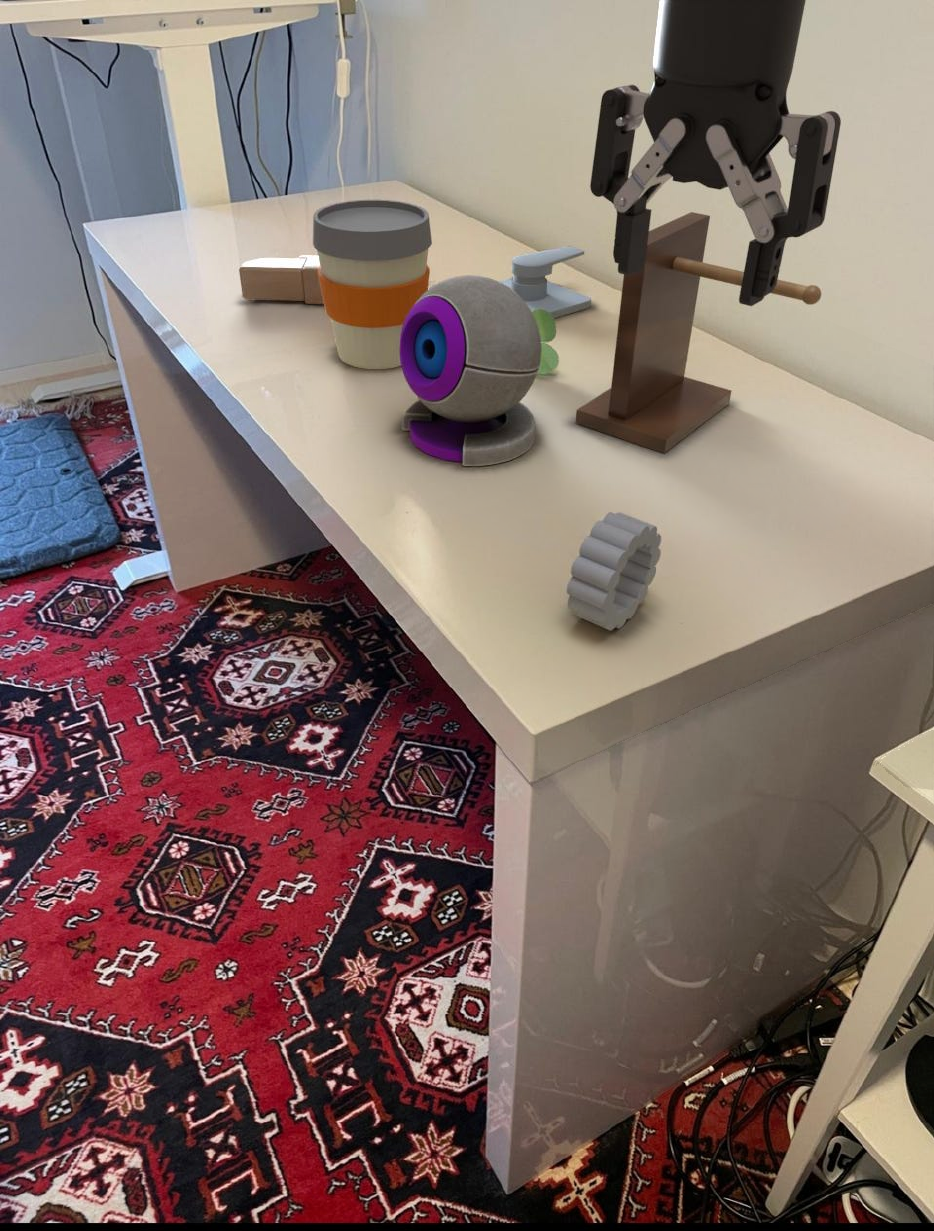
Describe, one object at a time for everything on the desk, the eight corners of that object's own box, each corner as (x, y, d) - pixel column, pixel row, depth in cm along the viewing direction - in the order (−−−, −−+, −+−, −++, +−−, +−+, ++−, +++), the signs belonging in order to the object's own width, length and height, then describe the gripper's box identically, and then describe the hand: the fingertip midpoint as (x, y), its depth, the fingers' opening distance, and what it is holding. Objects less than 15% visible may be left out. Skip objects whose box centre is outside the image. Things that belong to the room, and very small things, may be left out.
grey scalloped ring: (653, 597, 72) (668, 507, 67) (597, 650, 67) (609, 557, 62) (619, 582, 73) (631, 494, 69) (562, 633, 68) (570, 541, 64)
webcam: (377, 428, 93) (370, 273, 84) (476, 393, 100) (480, 247, 91) (462, 480, 86) (464, 316, 76) (563, 439, 92) (576, 283, 83)
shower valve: (613, 258, 119) (523, 282, 111) (608, 302, 122) (521, 328, 115) (545, 235, 127) (457, 255, 119) (542, 276, 130) (456, 299, 122)
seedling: (531, 399, 110) (527, 392, 104) (488, 346, 111) (481, 335, 104) (580, 358, 109) (578, 347, 103) (536, 304, 109) (532, 290, 103)
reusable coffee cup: (451, 343, 111) (451, 207, 102) (400, 384, 102) (396, 239, 93) (357, 325, 115) (349, 193, 106) (300, 363, 106) (286, 222, 97)
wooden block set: (382, 262, 116) (236, 258, 117) (384, 307, 120) (242, 304, 120) (396, 221, 130) (264, 218, 130) (397, 263, 133) (269, 260, 134)
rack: (575, 423, 95) (591, 236, 84) (644, 378, 104) (668, 204, 93) (751, 483, 86) (795, 282, 75) (810, 428, 95) (858, 241, 84)
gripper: (897, -21, 48) (822, 297, 58) (655, -36, 56) (624, 250, 66) (837, -12, 44) (766, 331, 54) (581, -29, 51) (560, 276, 61)
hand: (688, 286), depth 60 cm, fingers open, 8 cm apart
